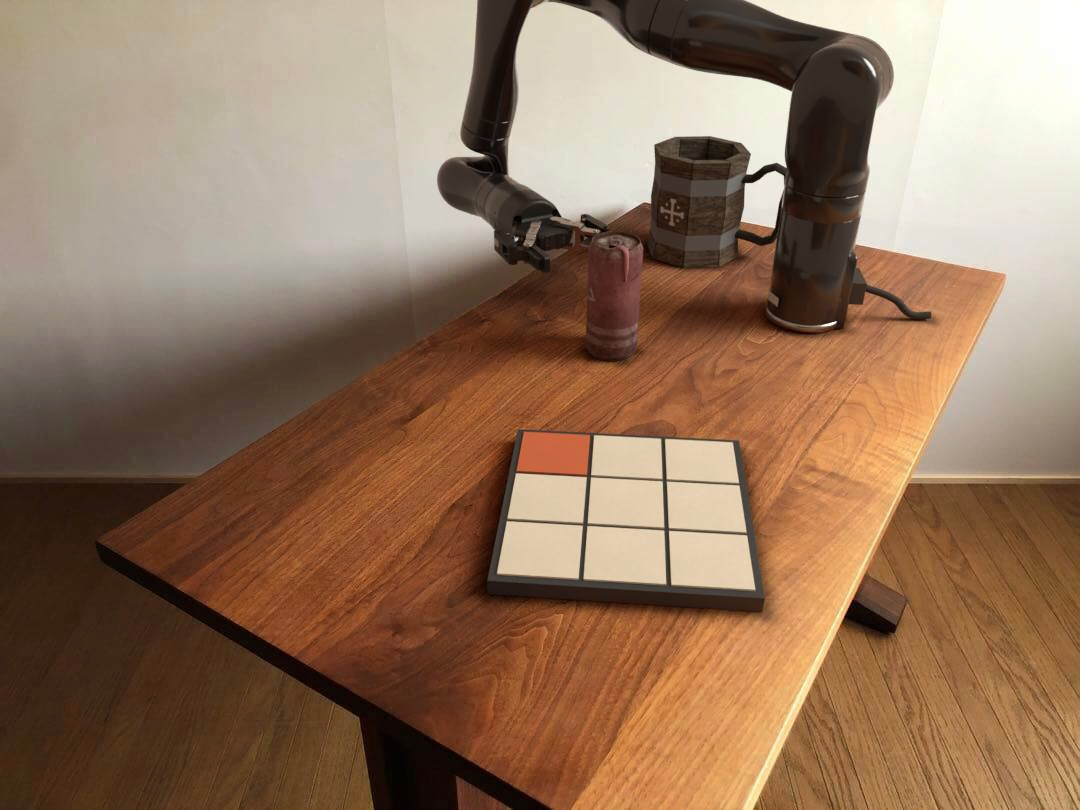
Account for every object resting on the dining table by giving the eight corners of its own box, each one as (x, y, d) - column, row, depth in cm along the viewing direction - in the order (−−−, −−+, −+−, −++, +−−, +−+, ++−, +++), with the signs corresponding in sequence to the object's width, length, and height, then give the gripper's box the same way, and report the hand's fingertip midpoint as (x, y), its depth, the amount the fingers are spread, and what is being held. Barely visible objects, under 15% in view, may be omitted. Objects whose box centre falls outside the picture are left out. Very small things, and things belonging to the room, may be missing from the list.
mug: (636, 261, 131) (642, 158, 123) (657, 228, 142) (664, 131, 134) (775, 280, 126) (791, 173, 118) (785, 244, 136) (801, 144, 128)
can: (603, 368, 105) (608, 254, 98) (576, 344, 110) (579, 234, 102) (647, 356, 107) (655, 244, 100) (619, 333, 112) (625, 225, 105)
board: (737, 452, 91) (739, 438, 90) (762, 612, 72) (765, 596, 71) (518, 441, 93) (517, 427, 92) (487, 594, 74) (487, 578, 73)
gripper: (471, 197, 118) (526, 239, 106) (568, 181, 124) (631, 220, 111) (473, 251, 122) (526, 298, 110) (567, 233, 128) (627, 276, 115)
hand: (579, 259), depth 111 cm, fingers open, 8 cm apart
